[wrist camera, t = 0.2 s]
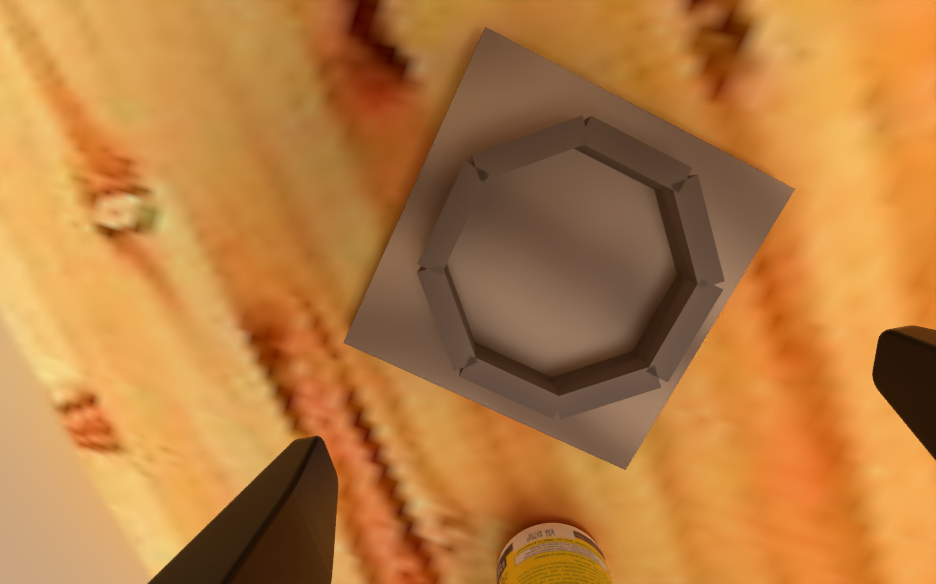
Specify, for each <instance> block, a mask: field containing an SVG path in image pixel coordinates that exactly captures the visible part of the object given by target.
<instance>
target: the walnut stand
mask: <svg viewBox="0 0 936 584" xmlns="http://www.w3.org/2000/svg"><path fill="white" fill-rule="evenodd" d="M794 190H795V189H794V188H792V187H790V186H789V185H787V184H785V183H783V182H781V181H779V180H777V179H775V178H773V177H771V176H769V175H767V174H766V173H764V172H762V171H760V170H758V169H756V168H754V167H752V166H750V165H748V164H746V163H745V162H743V161H741V160H739V159H737V158H735V157H733V156H731V155H729V154H727V153H725V152H723V151H722V150H720V149H718V148H716V147H714V146H712V145H710V144H708V143H706V142H704V141H702V140H701V139H699V138H697V137H695V136H693V135H691V134H689V133H687V132H685V131H683V130H681V129H680V128H678V127H676V126H674V125H672V124H670V123H668V122H666V121H664V120H662V119H660V118H658V117H657V116H655V115H653V114H651V113H649V112H647V111H645V110H643V109H641V108H639V107H637V106H636V105H634V104H632V103H630V102H628V101H626V100H624V99H622V98H620V97H618V96H616V95H615V94H613V93H611V92H609V91H607V90H605V89H603V88H601V87H599V86H597V85H595V84H593V83H592V82H590V81H588V80H586V79H584V78H582V77H580V76H578V75H576V74H574V73H572V72H571V71H569V70H567V69H565V68H563V67H561V66H559V65H557V64H555V63H553V62H551V61H550V60H548V59H546V58H544V57H542V56H540V55H538V54H536V53H534V52H532V51H530V50H528V49H527V48H525V47H523V46H521V45H519V44H517V43H515V42H513V41H511V40H509V39H507V38H506V37H504V36H502V35H500V34H498V33H496V32H494V31H492V30H490V29H488V28H486V27H485V29H484V31H483V33H482V36H481V38H480V40H479V42H478V45H477V47H476V49H475V51H474V54H473V56H472V58H471V60H470V62H469V65H468V67H467V69H466V71H465V74H464V76H463V78H462V80H461V82H460V85H459V87H458V89H457V91H456V94H455V96H454V98H453V100H452V102H451V105H450V107H449V109H448V111H447V114H446V116H445V118H444V120H443V122H442V125H441V127H440V129H439V131H438V134H437V136H436V138H435V140H434V142H433V145H432V147H431V149H430V151H429V154H428V156H427V158H426V160H425V162H424V165H423V167H422V169H421V171H420V174H419V176H418V178H417V180H416V183H415V185H414V187H413V189H412V191H411V194H410V196H409V198H408V200H407V203H406V205H405V207H404V209H403V211H402V214H401V216H400V218H399V220H398V223H397V225H396V227H395V229H394V231H393V234H392V236H391V238H390V240H389V243H388V245H387V247H386V249H385V251H384V254H383V256H382V258H381V260H380V263H379V265H378V267H377V269H376V271H375V274H374V276H373V278H372V280H371V283H370V285H369V287H368V289H367V292H366V294H365V296H364V298H363V300H362V303H361V305H360V307H359V309H358V312H357V314H356V316H355V318H354V320H353V323H352V325H351V327H350V329H349V332H348V334H347V336H346V338H345V340H344V343H345V344H348V345H350V346H352V347H354V348H356V349H359V350H361V351H363V352H365V353H367V354H370V355H372V356H374V357H376V358H379V359H381V360H383V361H385V362H387V363H390V364H392V365H394V366H396V367H398V368H401V369H403V370H405V371H407V372H410V373H412V374H414V375H416V376H418V377H421V378H423V379H425V380H427V381H430V382H432V383H434V384H436V385H438V386H441V387H443V388H445V389H447V390H449V391H452V392H454V393H456V394H458V395H461V396H463V397H465V398H467V399H469V400H472V401H474V402H476V403H478V404H481V405H483V406H485V407H487V408H489V409H492V410H494V411H496V412H498V413H500V414H503V415H505V416H507V417H509V418H512V419H514V420H516V421H518V422H520V423H523V424H525V425H527V426H529V427H531V428H534V429H536V430H538V431H540V432H543V433H545V434H547V435H549V436H551V437H554V438H556V439H558V440H560V441H563V442H565V443H567V444H569V445H571V446H574V447H576V448H578V449H580V450H582V451H585V452H587V453H589V454H591V455H594V456H596V457H598V458H600V459H602V460H605V461H607V462H609V463H611V464H614V465H616V466H618V467H620V468H622V469H625V470H626V468H627V467H628V465H629V463H630V462H631V460H632V458H633V457H634V455H635V453H636V452H637V450H638V448H639V447H640V445H641V443H642V442H643V440H644V438H645V437H646V435H647V433H648V432H649V430H650V429H651V427H652V425H653V424H654V422H655V420H656V419H657V417H658V415H659V414H660V412H661V410H662V409H663V407H664V405H665V404H666V402H667V400H668V399H669V397H670V395H671V394H672V392H673V390H674V389H675V387H676V385H677V384H678V382H679V380H680V379H681V377H682V375H683V374H684V372H685V370H686V369H687V367H688V365H689V364H690V362H691V361H692V359H693V357H694V356H695V354H696V352H697V351H698V349H699V347H700V346H701V344H702V342H703V341H704V339H705V337H706V336H707V334H708V332H709V331H710V329H711V327H712V326H713V324H714V322H715V321H716V319H717V317H718V316H719V314H720V312H721V311H722V309H723V307H724V306H725V304H726V302H727V301H728V299H729V297H730V296H731V294H732V293H733V291H734V289H735V288H736V286H737V284H738V283H739V281H740V279H741V278H742V276H743V274H744V273H745V271H746V269H747V268H748V266H749V264H750V263H751V261H752V259H753V258H754V256H755V254H756V253H757V251H758V249H759V248H760V246H761V244H762V243H763V241H764V239H765V238H766V236H767V234H768V233H769V231H770V229H771V228H772V226H773V225H774V223H775V221H776V220H777V218H778V216H779V215H780V213H781V211H782V210H783V208H784V206H785V205H786V203H787V201H788V200H789V198H790V196H791V195H792V193H793V191H794Z"/></svg>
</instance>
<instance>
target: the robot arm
mask: <svg viewBox="0 0 936 584" xmlns="http://www.w3.org/2000/svg"><path fill="white" fill-rule="evenodd" d="M872 376H873V381H874V384H875V386H876V388H877V389H878V391H879V392H880V393H881V394H882V396H883V397H884V398H885V399H886V400H887V402H888V403H889V404H890V405H891V407H892V408H893V409H894V410H895V411H896V413H897V414H898V415H899V416H900V417H901V419H902V420H903V421H904V422H905V424H906V425H907V426H908V427H909V428H910V430H911V431H912V432H913V433H914V435H915V436H916V437H917V438H918V439H919V441H920V442H921V443H922V444H923V445H924V447H925V448H926V449H927V450H928V452H929V453H930V454H931V455H932V456H933V458H934V459H935V460H936V330H933V329H928V328H924V327H919V326H904V327H899V328H893V329H888V330H886V331H884V332H882V333H881V335H880V336H879V339H878V343H877V349H876V355H875V361H874V366H873V373H872ZM337 499H338V478H337V473H336V470H335V468H334V465H333V463H332V460H331V458H330V455H329V452H328V450H327V447H326V445H325V442H324V441H323V439H322V438H321V437H319V436H312V437H307V438H301V439H297V440H295V441H293V442H292V443H291V444H290V445H289V446H288V447H287V448H286V449H285V450H284V451H283V452H282V453H281V454H280V455H279V456H278V457H277V458H276V459H274V460H273V461H272V462H271V463H270V464H269V465H268V466H267V467H266V468H265V469H264V470H263V471H262V472H261V473H260V474H259V475H258V476H257V477H256V478H255V479H254V480H253V481H252V482H251V483H250V484H249V485H248V486H247V487H246V488H245V489H244V490H243V491H242V492H241V493H240V494H239V495H238V496H237V497H236V498H235V499H234V500H233V501H232V502H230V503H229V504H228V505H227V506H226V507H225V508H224V509H223V510H222V511H221V512H220V513H219V514H218V515H217V516H216V517H215V518H214V519H213V520H212V521H211V522H210V523H209V524H208V525H207V526H206V527H205V528H204V529H203V530H202V531H201V532H200V533H199V534H198V535H197V536H196V537H195V538H194V539H193V540H192V541H191V542H190V543H189V544H187V545H186V546H185V547H184V548H183V549H182V550H181V551H180V552H179V553H178V554H177V555H176V556H175V557H174V558H173V559H172V560H171V561H170V562H169V563H168V564H167V565H166V566H165V567H164V568H163V569H162V570H161V571H160V572H159V573H158V574H157V575H156V576H155V577H154V578H153V579H152V580H151V581H150V582H149V583H148V584H331V579H332V569H333V556H334V542H335V527H336V513H337Z"/></svg>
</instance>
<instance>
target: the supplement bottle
mask: <svg viewBox="0 0 936 584" xmlns="http://www.w3.org/2000/svg"><path fill="white" fill-rule="evenodd" d="M497 584H614V583H613V580H612V577H611V574H610V572H609V569H608V566H607V563H606V561H605V558H604V555H603V553H602V551H601V550H600V548H599V547H598V545H597V544H596V543H595V541H594V540H593V539H592V538H591V537H590V536H588V535H587V534H586V533H584V532H583V531H581V530H579V529H577V528H575V527H573V526H570V525H566V524H561V523H543V524H538V525H535V526H532V527H529V528H527V529H525V530H523V531H521V532H520V533H518V534H517V535H516V536H514V537H513V538H512V539H511V540H510V541H509V542H508V544H507V545H506V546H505V548H504V549H503V551H502V553H501V555H500V558H499V561H498V566H497Z"/></svg>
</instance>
